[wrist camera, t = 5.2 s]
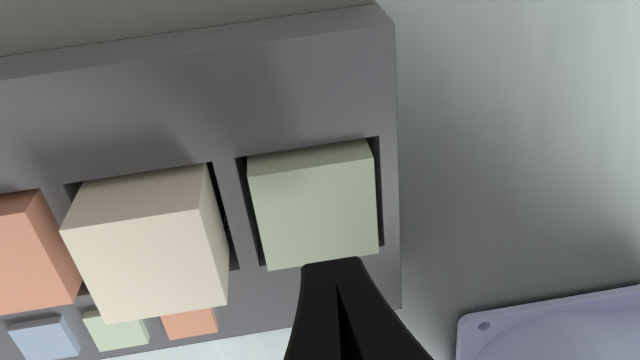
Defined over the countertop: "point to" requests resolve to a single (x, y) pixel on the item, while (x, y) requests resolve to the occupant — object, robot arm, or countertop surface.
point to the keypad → (198, 152)
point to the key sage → (315, 203)
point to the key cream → (149, 243)
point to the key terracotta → (33, 256)
